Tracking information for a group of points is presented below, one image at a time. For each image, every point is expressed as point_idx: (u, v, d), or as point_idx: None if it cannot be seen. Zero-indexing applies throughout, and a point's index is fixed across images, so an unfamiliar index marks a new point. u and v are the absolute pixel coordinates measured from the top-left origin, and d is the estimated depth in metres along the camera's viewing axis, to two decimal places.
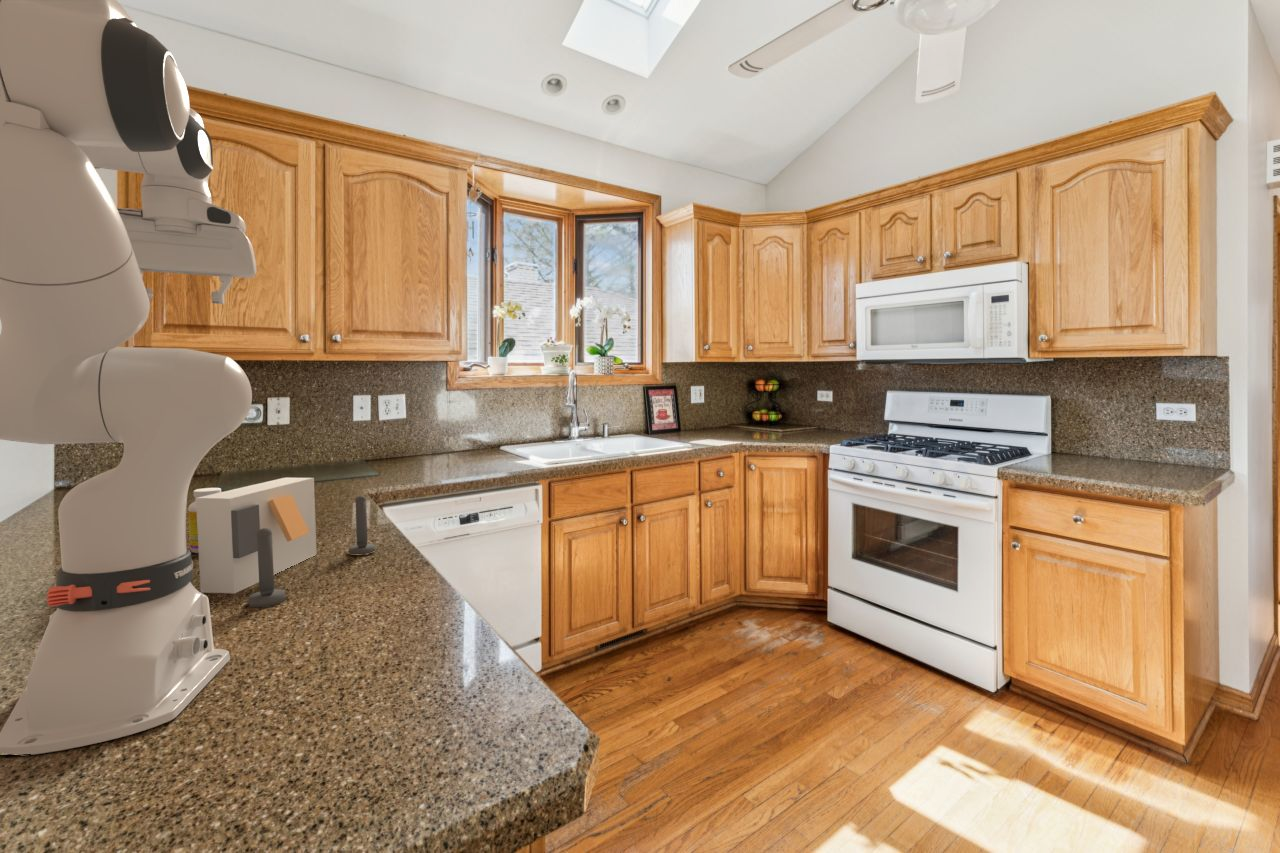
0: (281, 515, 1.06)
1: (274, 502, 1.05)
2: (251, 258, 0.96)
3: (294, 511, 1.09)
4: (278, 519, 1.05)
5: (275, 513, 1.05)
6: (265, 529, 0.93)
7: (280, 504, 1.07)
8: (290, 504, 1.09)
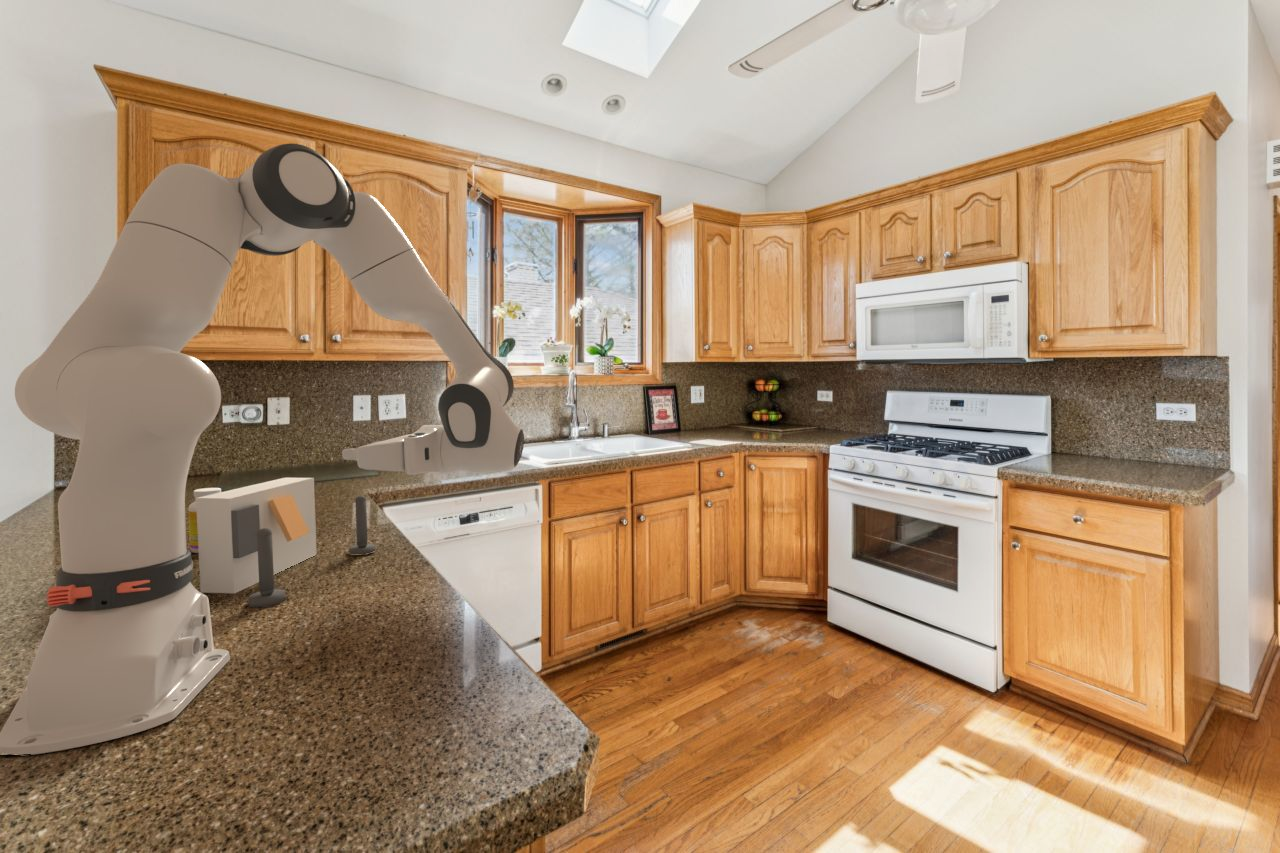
0: (281, 515, 1.06)
1: (274, 502, 1.05)
2: (371, 446, 0.96)
3: (294, 511, 1.09)
4: (278, 519, 1.05)
5: (275, 513, 1.05)
6: (265, 529, 0.93)
7: (280, 504, 1.07)
8: (290, 504, 1.09)
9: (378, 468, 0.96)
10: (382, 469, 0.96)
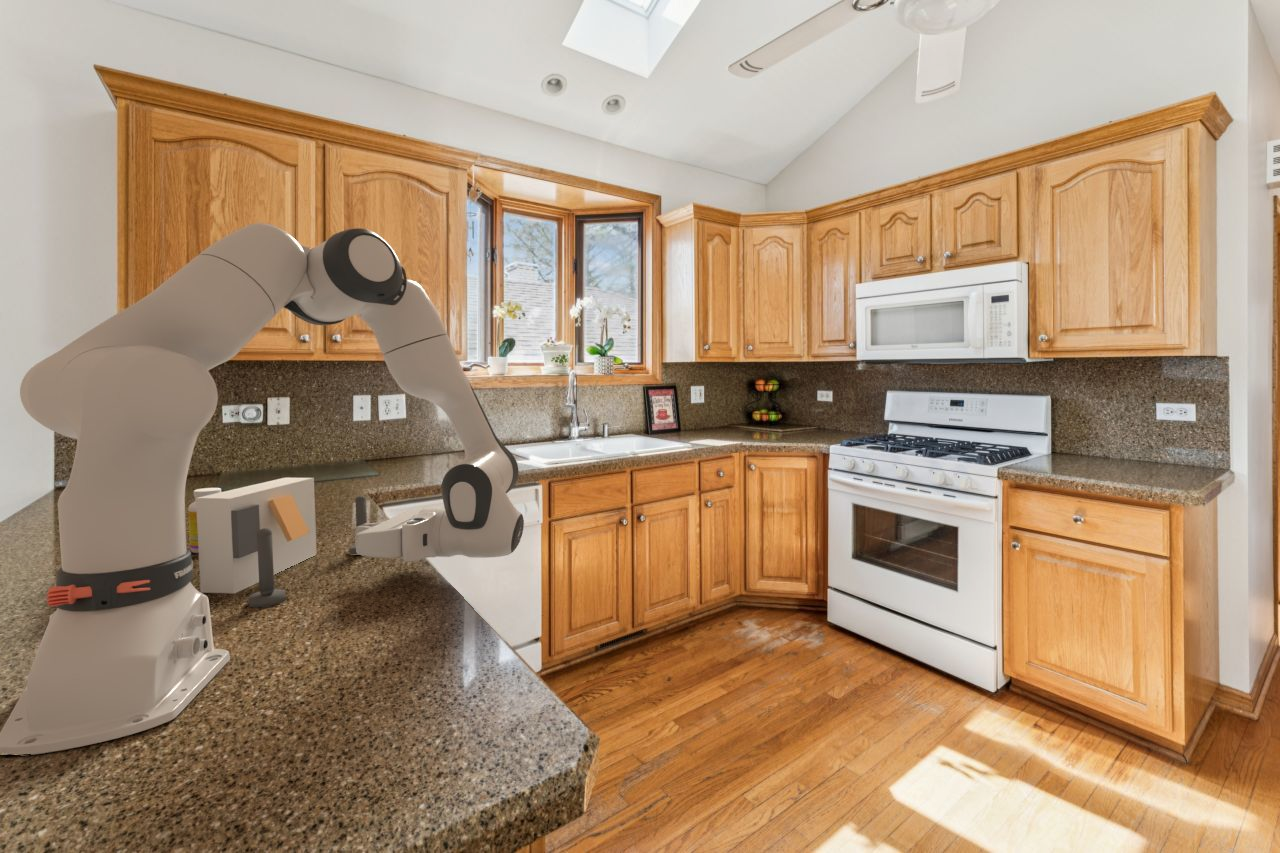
0: (281, 515, 1.06)
1: (274, 502, 1.05)
2: (369, 533, 0.96)
3: (294, 511, 1.09)
4: (278, 519, 1.05)
5: (275, 513, 1.05)
6: (265, 529, 0.93)
7: (280, 504, 1.07)
8: (290, 504, 1.09)
9: (376, 555, 0.97)
10: (379, 556, 0.97)
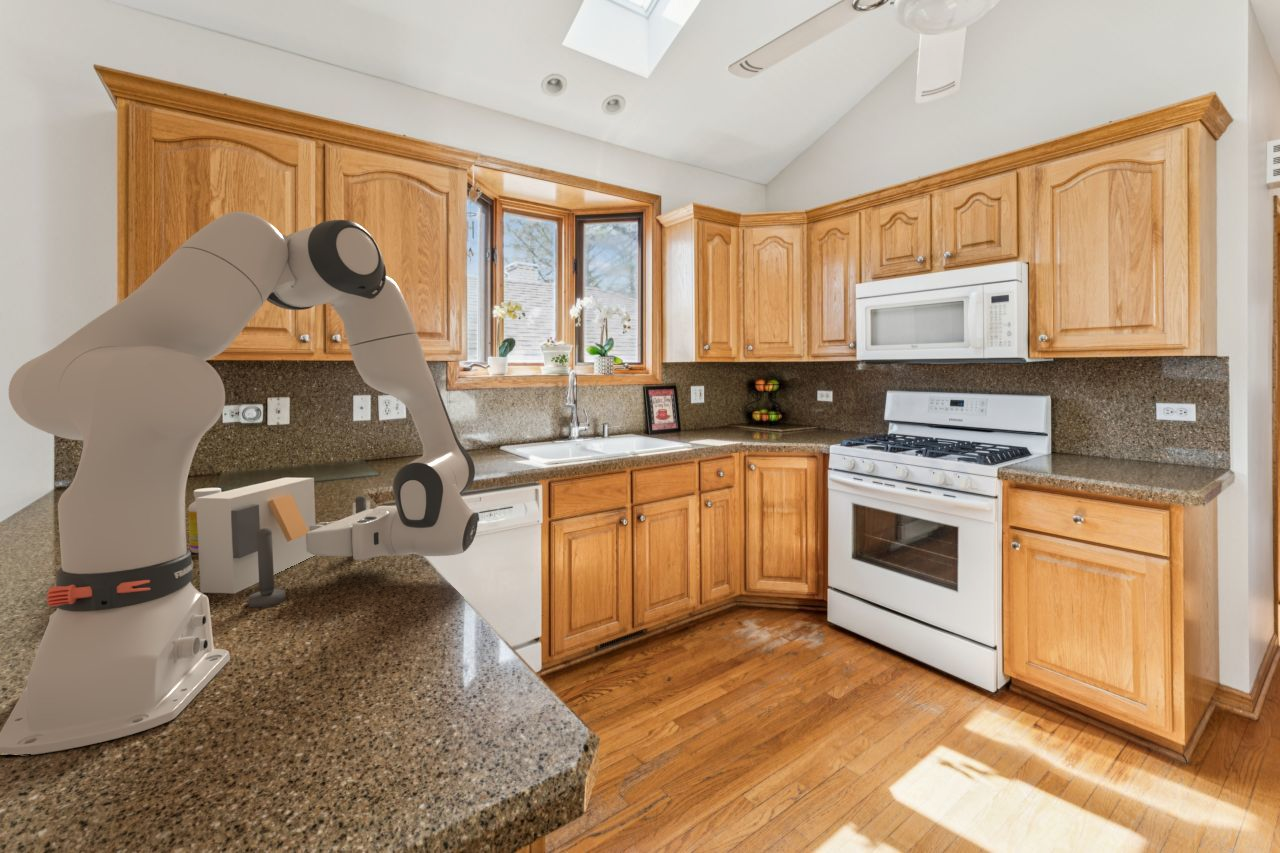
0: (281, 515, 1.06)
1: (274, 502, 1.05)
2: (319, 532, 0.97)
3: (294, 511, 1.09)
4: (278, 519, 1.05)
5: (275, 513, 1.05)
6: (265, 529, 0.93)
7: (280, 504, 1.07)
8: (290, 504, 1.09)
9: (325, 554, 0.97)
10: (329, 555, 0.97)
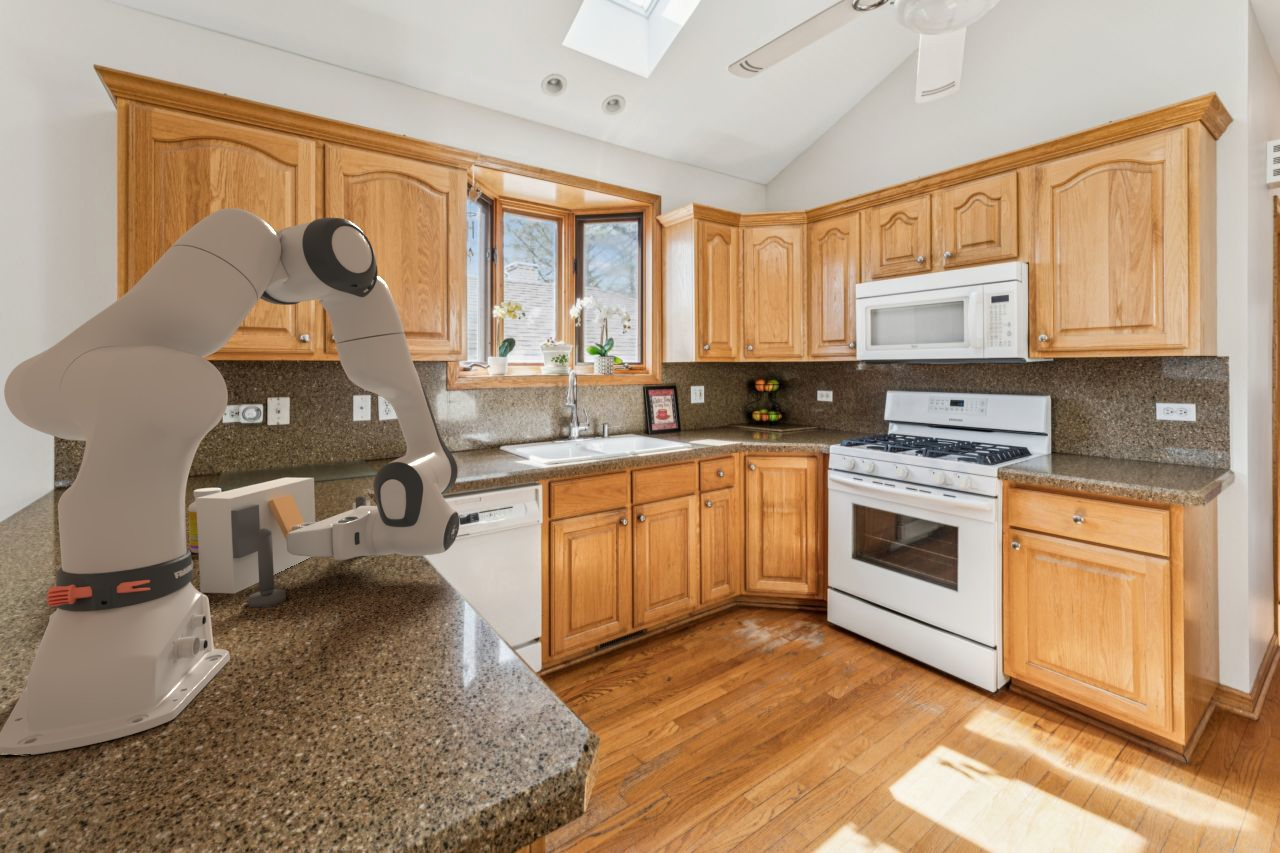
0: (280, 515, 1.06)
1: (274, 502, 1.05)
2: (299, 532, 0.97)
3: (294, 511, 1.09)
4: (278, 519, 1.05)
5: (275, 513, 1.05)
6: (265, 529, 0.93)
7: (280, 504, 1.07)
8: (290, 504, 1.09)
9: (306, 554, 0.98)
10: (310, 555, 0.98)
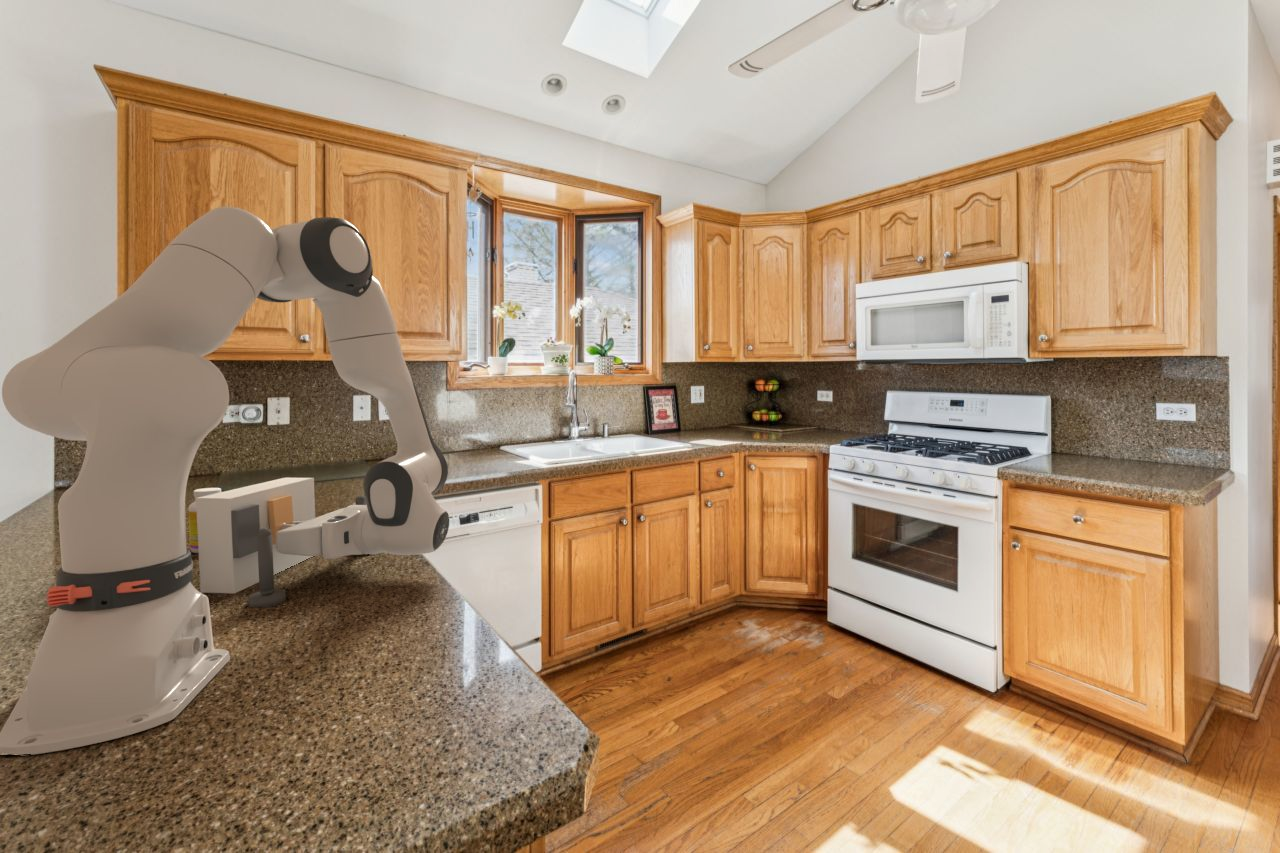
0: (275, 517, 1.06)
1: (273, 504, 1.05)
2: (288, 531, 0.98)
3: (288, 513, 1.09)
4: (271, 520, 1.06)
5: (270, 514, 1.05)
6: (265, 529, 0.93)
7: (278, 506, 1.07)
8: (287, 506, 1.09)
9: (295, 553, 0.98)
10: (299, 554, 0.98)
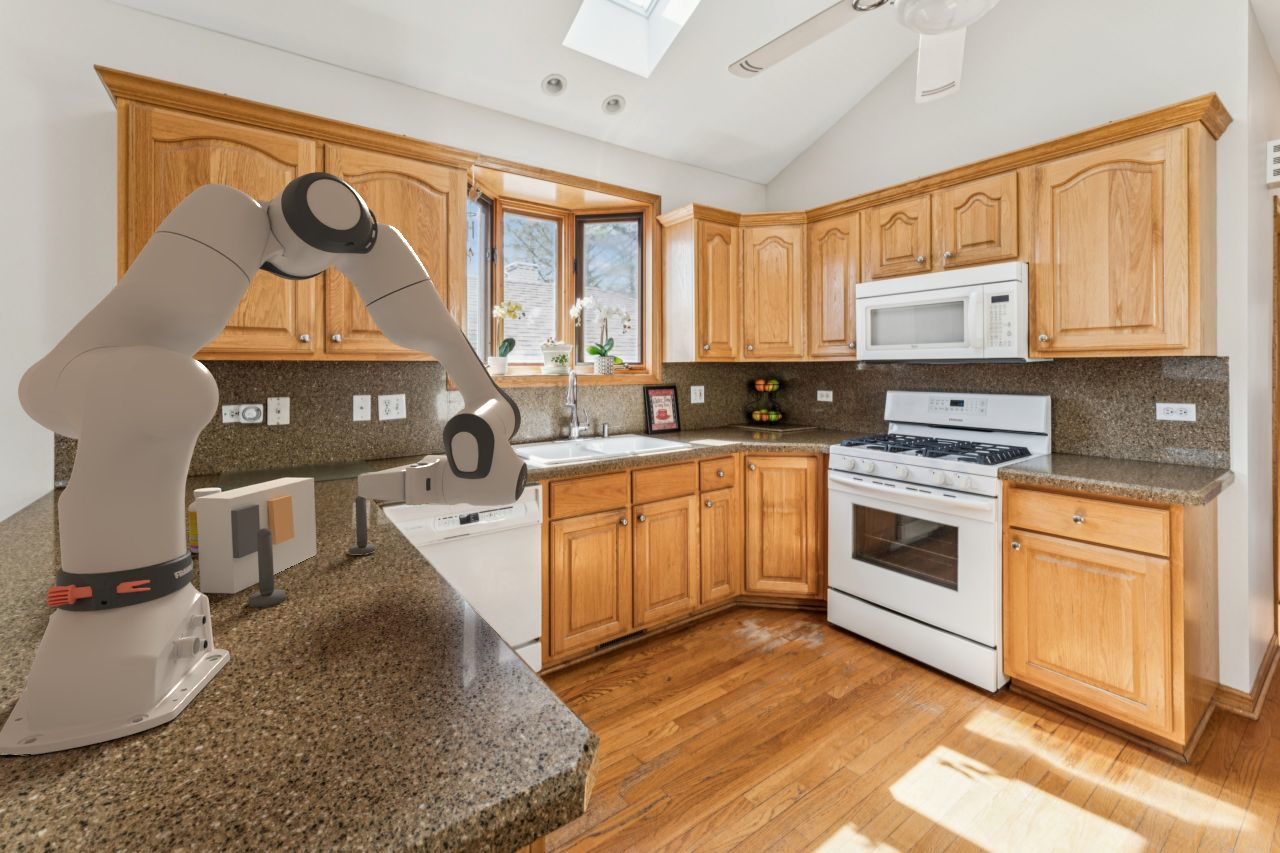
0: (275, 517, 1.06)
1: (273, 504, 1.05)
2: (372, 475, 0.96)
3: (288, 514, 1.09)
4: (270, 520, 1.06)
5: (270, 514, 1.05)
6: (265, 529, 0.93)
7: (278, 506, 1.07)
8: (287, 506, 1.09)
9: (378, 497, 0.96)
10: (382, 498, 0.96)
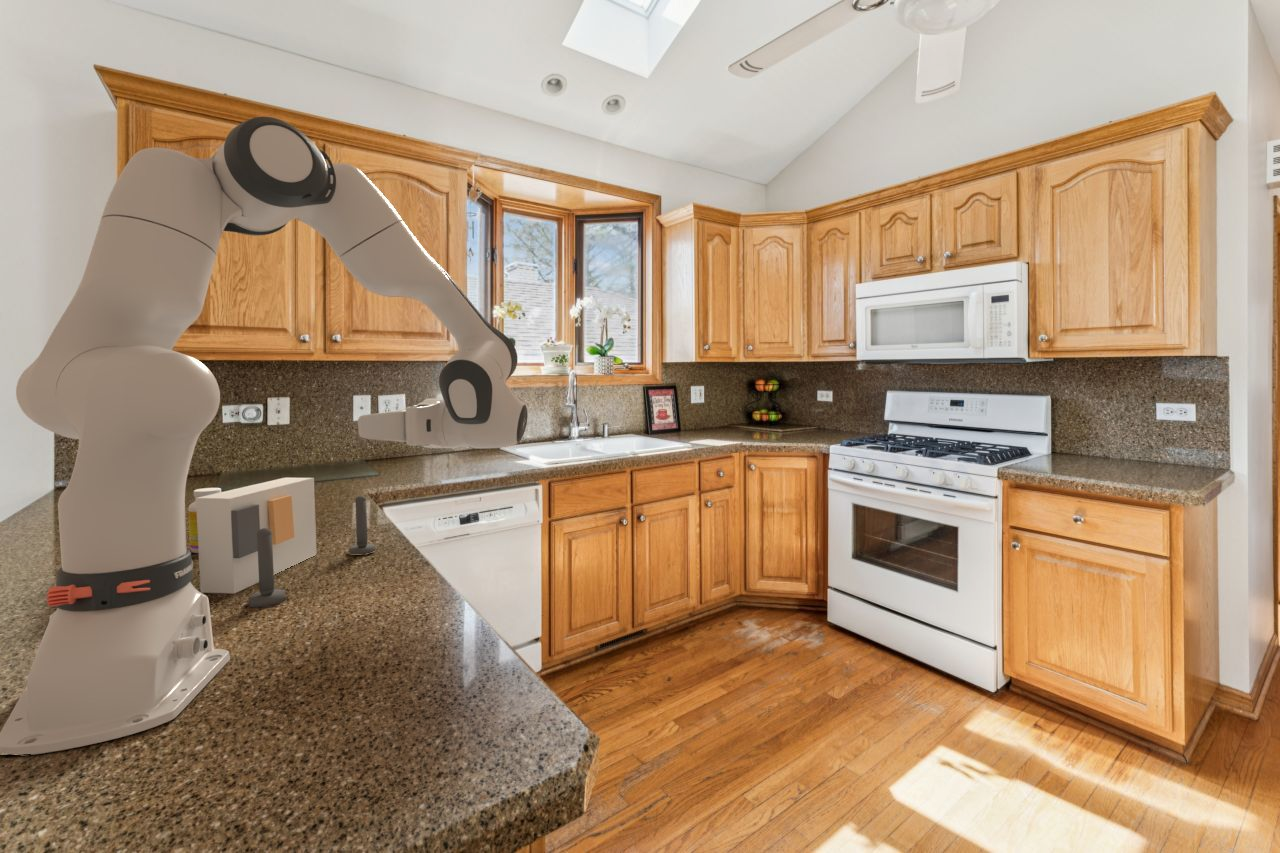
0: (275, 517, 1.06)
1: (273, 504, 1.05)
2: (372, 415, 0.95)
3: (288, 514, 1.09)
4: (270, 520, 1.06)
5: (270, 514, 1.05)
6: (265, 529, 0.93)
7: (278, 506, 1.07)
8: (287, 506, 1.09)
9: (379, 437, 0.95)
10: (383, 438, 0.95)
